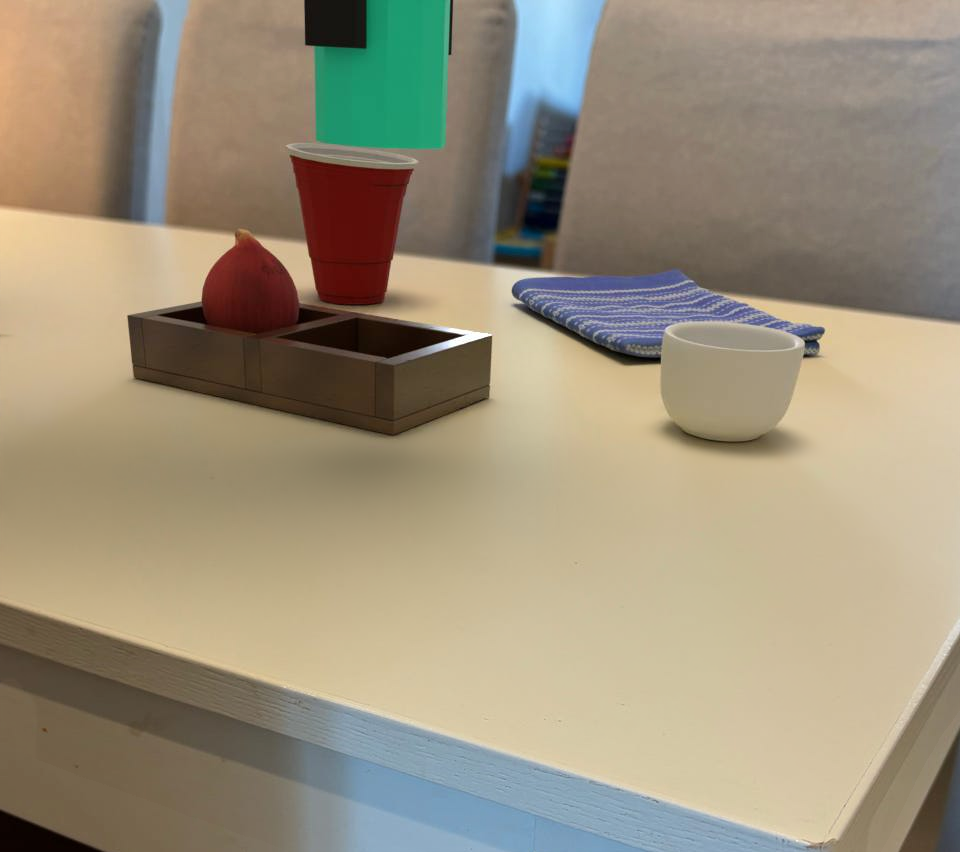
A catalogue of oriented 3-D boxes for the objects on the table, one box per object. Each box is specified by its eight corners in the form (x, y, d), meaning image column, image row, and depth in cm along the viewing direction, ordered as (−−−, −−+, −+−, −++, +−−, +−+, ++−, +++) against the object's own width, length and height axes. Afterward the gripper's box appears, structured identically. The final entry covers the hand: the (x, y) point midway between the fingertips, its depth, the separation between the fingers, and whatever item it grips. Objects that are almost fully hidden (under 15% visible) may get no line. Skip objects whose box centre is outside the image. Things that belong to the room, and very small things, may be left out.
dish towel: (677, 299, 102) (681, 267, 101) (828, 356, 82) (835, 318, 81) (504, 302, 97) (506, 269, 96) (621, 364, 77) (625, 323, 76)
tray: (133, 377, 68) (126, 315, 67) (246, 349, 76) (243, 293, 75) (393, 435, 60) (393, 365, 58) (489, 397, 68) (492, 334, 66)
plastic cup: (386, 316, 89) (387, 154, 84) (267, 302, 92) (260, 145, 87) (434, 295, 98) (438, 149, 93) (324, 284, 101) (322, 141, 96)
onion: (289, 351, 73) (284, 223, 69) (309, 371, 68) (305, 235, 65) (200, 355, 71) (190, 223, 67) (214, 376, 66) (205, 235, 63)
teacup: (818, 444, 62) (836, 347, 59) (703, 456, 59) (717, 354, 56) (714, 399, 70) (726, 312, 67) (609, 408, 67) (618, 317, 64)
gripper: (295, -927, 30) (312, 43, 40) (601, -586, 44) (554, 62, 55) (102, -839, 33) (164, 36, 44) (445, -549, 48) (429, 55, 58)
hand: (381, 49), depth 49 cm, fingers closed on candle, 6 cm apart
